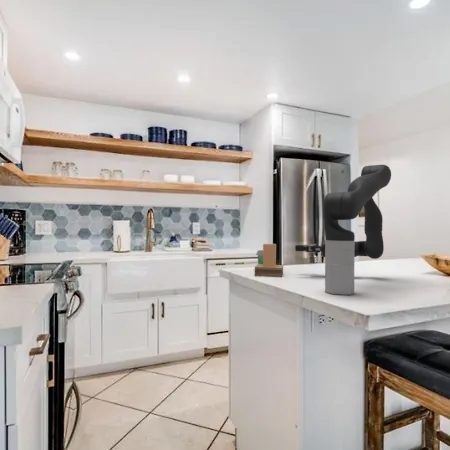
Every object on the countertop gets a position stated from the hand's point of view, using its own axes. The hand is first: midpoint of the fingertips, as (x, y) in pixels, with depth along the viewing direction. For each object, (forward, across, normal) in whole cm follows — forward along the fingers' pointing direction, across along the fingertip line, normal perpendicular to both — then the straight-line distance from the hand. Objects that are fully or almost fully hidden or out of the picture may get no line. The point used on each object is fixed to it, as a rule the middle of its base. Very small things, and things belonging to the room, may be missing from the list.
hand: (295, 248), depth 149 cm
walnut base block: (+12, 0, +12) cm, 17 cm away
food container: (+16, -13, +13) cm, 24 cm away
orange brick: (+12, 0, +8) cm, 14 cm away
